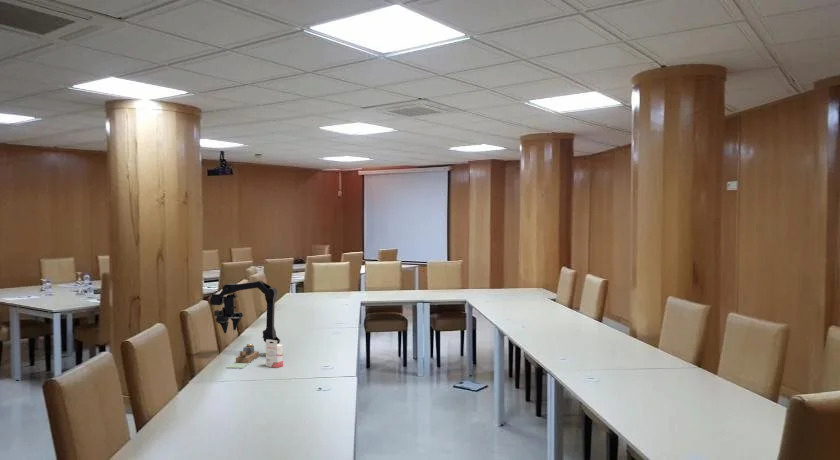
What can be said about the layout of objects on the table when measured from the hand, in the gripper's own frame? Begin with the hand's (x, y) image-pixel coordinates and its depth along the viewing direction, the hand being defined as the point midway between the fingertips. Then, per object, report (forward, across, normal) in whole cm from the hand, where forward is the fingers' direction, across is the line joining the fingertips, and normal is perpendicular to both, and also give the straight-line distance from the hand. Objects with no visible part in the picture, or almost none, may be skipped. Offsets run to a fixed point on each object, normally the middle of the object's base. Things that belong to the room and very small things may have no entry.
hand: (229, 331), depth 336 cm
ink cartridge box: (+15, +16, +38) cm, 44 cm away
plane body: (+14, +8, +16) cm, 23 cm away
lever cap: (+11, +6, +16) cm, 20 cm away
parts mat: (+14, +22, +19) cm, 32 cm away
